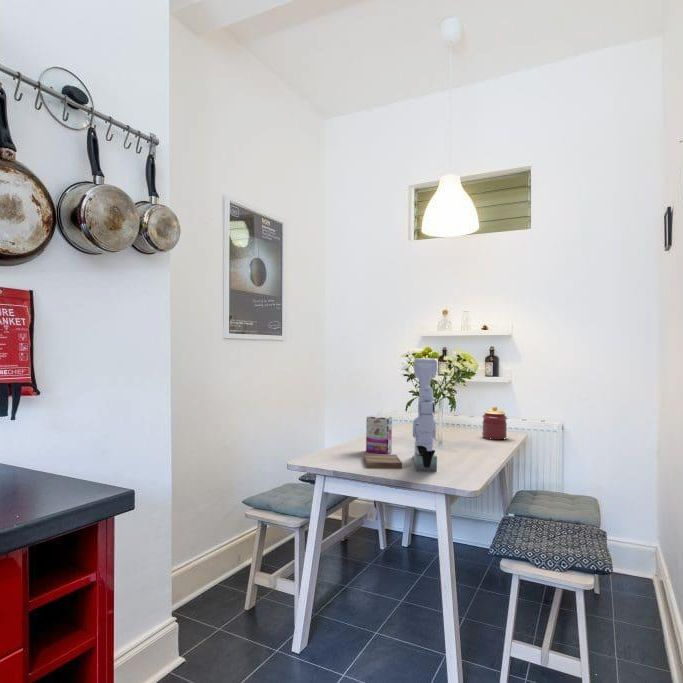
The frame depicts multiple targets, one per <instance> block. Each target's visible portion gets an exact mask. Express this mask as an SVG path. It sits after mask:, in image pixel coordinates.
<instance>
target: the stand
mask: <svg viewBox="0 0 683 683" xmlns="http://www.w3.org/2000/svg"><path fill="white" fill-rule="evenodd" d="M363 460H364V462H365V464H366V467H367V468H369V469H370V468H371V469H374V468H375V469H376V468H377V469H402V468H403V462H402V461H401V459H400V458H399V457H398V455H397V454H391V453H389V454H381V453H364V454H363Z"/></svg>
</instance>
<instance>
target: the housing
mask: <svg viewBox="0 0 683 683" xmlns="http://www.w3.org/2000/svg"><path fill="white" fill-rule="evenodd" d="M413 455H414V458H413V460H414V465H413V469H414V470H415V471H416V472H432V473H433V472H437V471H438V470H437V469H438V456H437V455H436V453H434V455H433V457H432V460H431V464H430V468H425V467H424V464H423V457H422V454H421V453H418V454H417V453H415V452H414V453H413Z"/></svg>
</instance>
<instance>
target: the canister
mask: <svg viewBox="0 0 683 683" xmlns="http://www.w3.org/2000/svg"><path fill="white" fill-rule="evenodd" d="M482 419H483V420H482V434H481V435H482V438H483V437H485V438H484V439H486V438H491V439H504V438H506V439H507V437H508V436H507V435H508V434H507V426H508V424H507V419H508V417H507V416H506V412H504V411H503V410H501V409H498V407H497V406H492V407H491V409H486V410H485V411H484V414H483V415H482ZM491 439H490V440H491Z"/></svg>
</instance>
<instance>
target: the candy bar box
mask: <svg viewBox="0 0 683 683" xmlns="http://www.w3.org/2000/svg"><path fill="white" fill-rule="evenodd" d="M365 433H366V436H365V438H366V439H365V440H366V441H365V444H366V445H365V452H368V453H372V454H391V453H392V451H393V450H392V445H393V442H392V441H393V440H392V439H393V437H392V436H393V434H392V433H393V417H391V416H378V415H369V416H368V415H367V416H366V432H365Z"/></svg>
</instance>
